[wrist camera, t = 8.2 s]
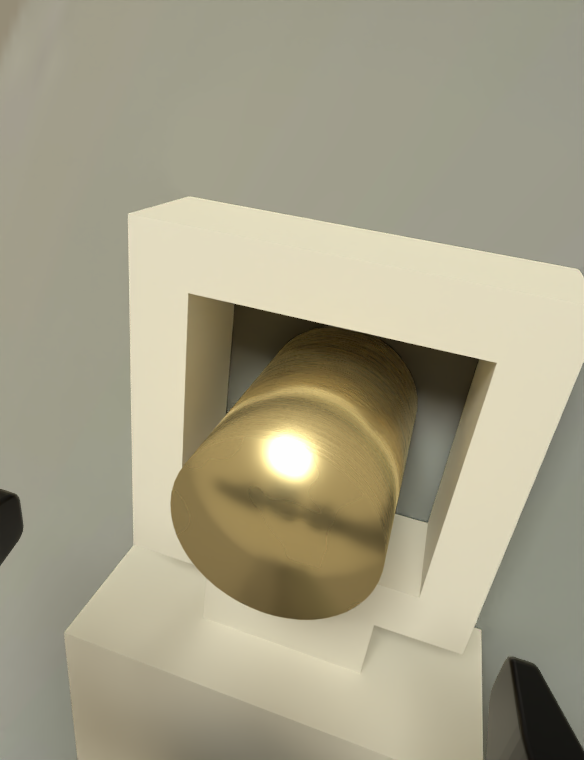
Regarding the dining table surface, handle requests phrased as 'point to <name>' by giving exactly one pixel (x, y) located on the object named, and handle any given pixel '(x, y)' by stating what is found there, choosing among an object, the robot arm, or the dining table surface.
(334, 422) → the brass cylinder
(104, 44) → the dining table surface
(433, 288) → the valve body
